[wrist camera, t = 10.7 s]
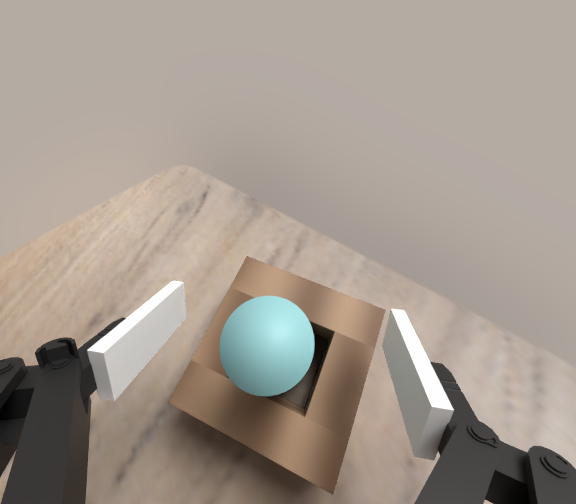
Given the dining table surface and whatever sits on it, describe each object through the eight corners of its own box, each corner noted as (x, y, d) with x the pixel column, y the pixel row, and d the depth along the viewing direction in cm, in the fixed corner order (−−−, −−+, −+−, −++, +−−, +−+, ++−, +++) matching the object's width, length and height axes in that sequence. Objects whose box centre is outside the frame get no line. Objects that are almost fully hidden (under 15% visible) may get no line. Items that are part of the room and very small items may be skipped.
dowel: (256, 372, 23) (201, 369, 11) (275, 329, 25) (246, 282, 12) (298, 392, 23) (291, 415, 10) (315, 346, 24) (328, 316, 11)
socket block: (195, 396, 23) (168, 402, 18) (256, 275, 27) (246, 256, 23) (326, 468, 20) (332, 494, 16) (370, 321, 25) (385, 310, 20)
